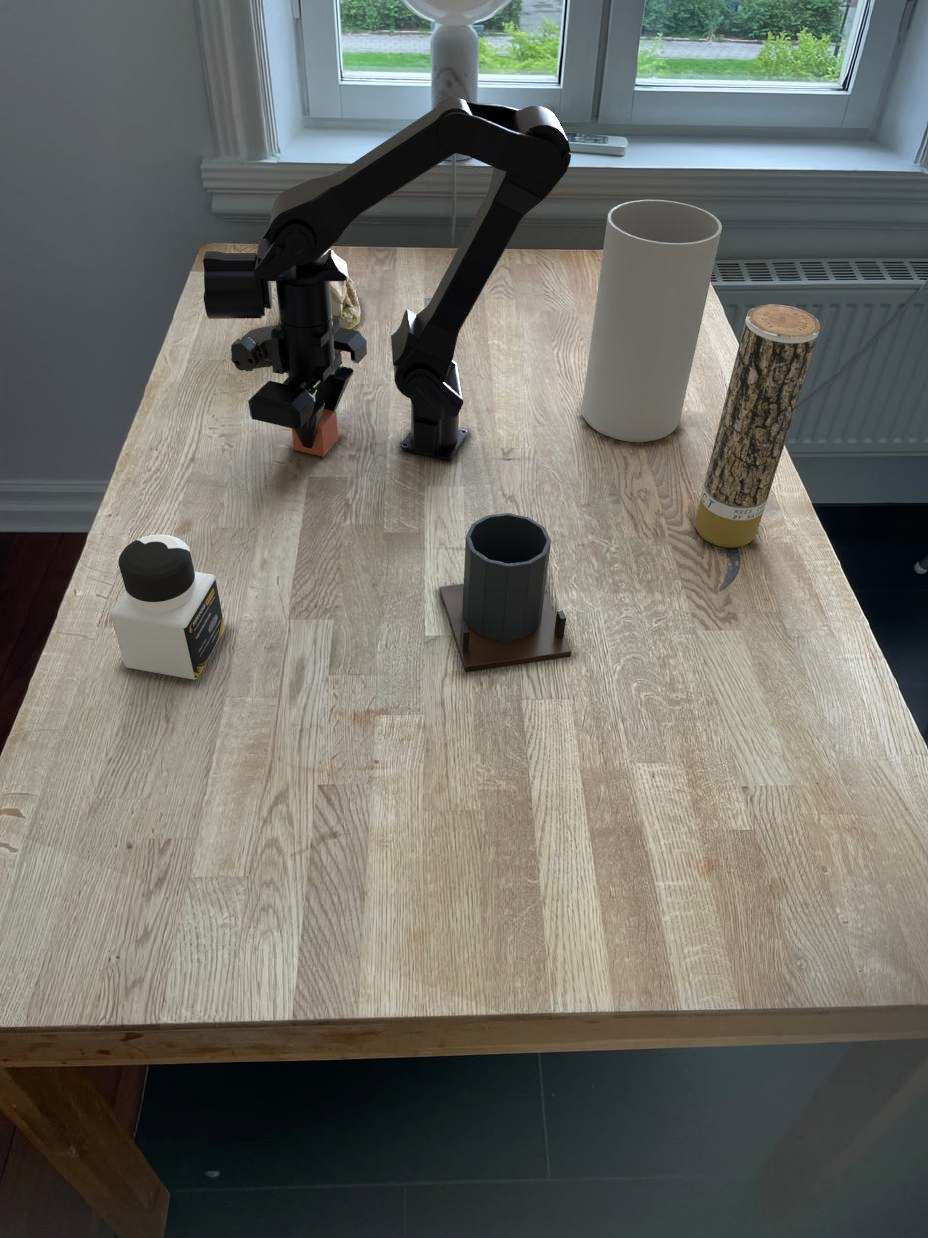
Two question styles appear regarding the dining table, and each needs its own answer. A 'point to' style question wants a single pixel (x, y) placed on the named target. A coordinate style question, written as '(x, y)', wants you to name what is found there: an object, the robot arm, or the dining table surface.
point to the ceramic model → (344, 302)
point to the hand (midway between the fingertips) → (315, 437)
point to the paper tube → (755, 422)
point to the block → (321, 435)
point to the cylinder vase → (648, 317)
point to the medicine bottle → (166, 609)
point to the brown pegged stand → (496, 654)
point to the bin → (505, 576)
